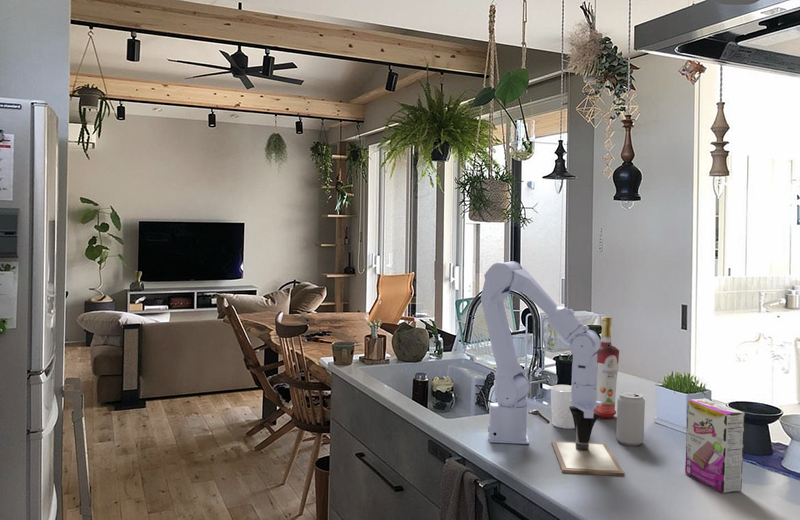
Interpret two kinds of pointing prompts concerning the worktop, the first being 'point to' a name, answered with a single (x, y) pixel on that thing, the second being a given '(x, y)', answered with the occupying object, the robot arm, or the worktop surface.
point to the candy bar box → (715, 444)
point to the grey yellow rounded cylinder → (581, 445)
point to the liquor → (606, 372)
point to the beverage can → (630, 418)
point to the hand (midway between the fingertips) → (582, 439)
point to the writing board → (586, 459)
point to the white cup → (561, 406)
